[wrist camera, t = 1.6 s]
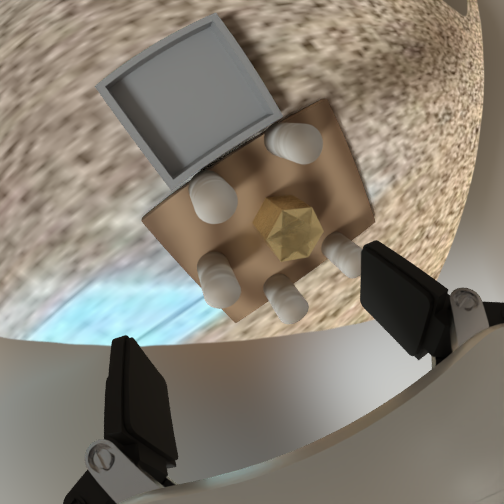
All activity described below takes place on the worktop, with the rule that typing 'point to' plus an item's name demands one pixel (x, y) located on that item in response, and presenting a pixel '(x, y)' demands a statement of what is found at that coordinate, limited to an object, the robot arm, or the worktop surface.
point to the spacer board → (248, 204)
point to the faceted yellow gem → (288, 227)
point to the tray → (189, 99)
